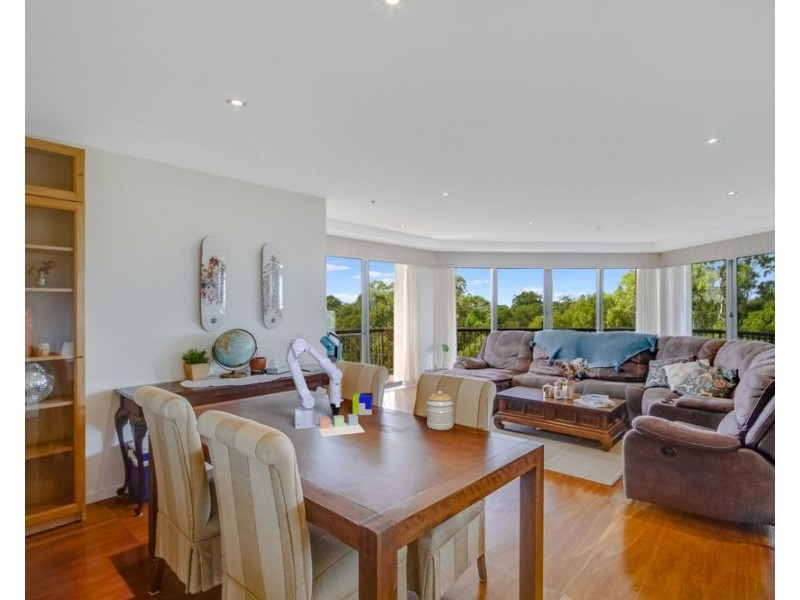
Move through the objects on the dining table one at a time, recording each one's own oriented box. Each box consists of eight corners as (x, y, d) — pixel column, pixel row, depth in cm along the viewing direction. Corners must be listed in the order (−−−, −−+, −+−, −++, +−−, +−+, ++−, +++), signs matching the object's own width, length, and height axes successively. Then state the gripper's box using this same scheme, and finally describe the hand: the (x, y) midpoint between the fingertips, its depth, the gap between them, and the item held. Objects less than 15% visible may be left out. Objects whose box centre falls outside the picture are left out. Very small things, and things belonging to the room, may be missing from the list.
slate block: (349, 426, 210) (349, 416, 210) (347, 423, 214) (347, 414, 214) (358, 425, 211) (358, 416, 211) (356, 422, 215) (356, 413, 215)
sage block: (334, 427, 208) (334, 418, 208) (333, 424, 212) (333, 415, 212) (344, 426, 209) (344, 417, 209) (342, 424, 213) (342, 415, 213)
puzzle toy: (371, 415, 230) (371, 397, 230) (352, 415, 230) (352, 397, 230) (372, 410, 240) (372, 392, 240) (355, 410, 240) (354, 393, 240)
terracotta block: (320, 429, 205) (320, 419, 205) (319, 426, 210) (319, 417, 210) (329, 428, 207) (329, 418, 207) (328, 425, 211) (328, 416, 211)
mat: (322, 437, 194) (322, 436, 194) (317, 426, 211) (317, 425, 211) (365, 432, 200) (365, 431, 200) (356, 422, 217) (356, 421, 217)
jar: (453, 422, 215) (452, 387, 215) (453, 430, 202) (453, 393, 202) (427, 422, 216) (427, 387, 216) (426, 430, 203) (426, 393, 203)
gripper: (345, 393, 213) (346, 421, 213) (340, 388, 227) (340, 413, 227) (331, 395, 211) (332, 422, 211) (327, 389, 225) (327, 414, 225)
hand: (335, 418), depth 219 cm, fingers closed
